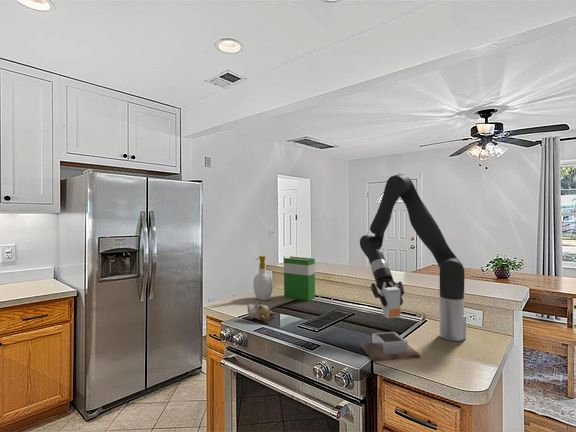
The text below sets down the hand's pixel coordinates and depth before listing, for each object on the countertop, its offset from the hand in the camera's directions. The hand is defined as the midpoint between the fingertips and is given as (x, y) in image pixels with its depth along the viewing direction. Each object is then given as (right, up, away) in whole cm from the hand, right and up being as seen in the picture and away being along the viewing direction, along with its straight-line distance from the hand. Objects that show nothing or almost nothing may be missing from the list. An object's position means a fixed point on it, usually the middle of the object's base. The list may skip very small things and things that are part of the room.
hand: (393, 305), depth 145 cm
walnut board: (-5, -15, -12) cm, 20 cm away
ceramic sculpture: (-57, -15, +28) cm, 65 cm away
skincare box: (0, -6, +2) cm, 6 cm away
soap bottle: (-59, -13, +65) cm, 89 cm away
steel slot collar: (-5, -14, -12) cm, 19 cm away
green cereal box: (-37, -13, +67) cm, 78 cm away
